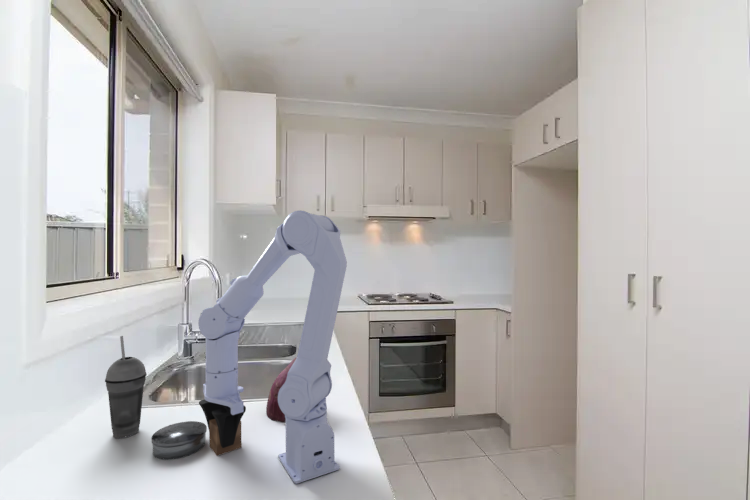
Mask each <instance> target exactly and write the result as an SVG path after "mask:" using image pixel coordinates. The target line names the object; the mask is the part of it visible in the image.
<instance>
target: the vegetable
mask: <svg viewBox="0 0 750 500" xmlns="http://www.w3.org/2000/svg"><path fill="white" fill-rule="evenodd" d="M296 358H297V356H296V357H294V358H293V359H292V360H291V362H289V363H288V364H287V365H286V367H285V368H284V369H282V370H281V372H280V373H279V374H278V375H277V377H276V378H275V379H274V381H273V383H272V385H271V387H270V390H269V394H268V397H267V402H266V406H265V407H266V408H265V409H266V411H265V412H266V413H265V414H266V417H267V418H268V419H270V420H271V421H275V422H281V423H286V418H285V414H284V413H283V412H282V411H281V409H280V407H279V404H278V393H279V390H280V388H281V387H282V386H283V384H284V383H285V381H286V379H287V374H288V371H289V370H290V368H291V366H292V365H293V363H294V362H295V360H296Z"/></svg>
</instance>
